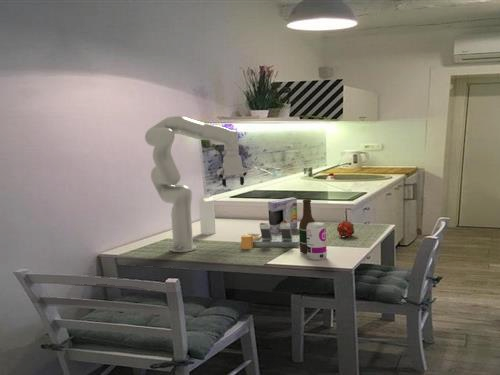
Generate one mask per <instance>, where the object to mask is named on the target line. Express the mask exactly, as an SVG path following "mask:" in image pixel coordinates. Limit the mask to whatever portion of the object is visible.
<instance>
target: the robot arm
mask: <svg viewBox="0 0 500 375" xmlns="http://www.w3.org/2000/svg"><path fill="white" fill-rule="evenodd" d="M238 133H239V132H238V130H236V129H229V128H226V127H224V126H220V125H215V124H210V123H205V122H201V121H199V120H195V119H191V118H189V117H186V116H182V115H175V116H169V117H165V118H164V119H163V120H161V121H159V122H157V123H156V124H155V125H153V126H151V127H150V128H149V129H147V131H146V132H145V136H144V139H145V142H146V143H147V145H149V146H151V147H153V151H152V160H153V161H154V162H153V163H154V165H155V166H154V167H153V168H152V170H151V172H150V179H151V181H152V184H153V186H154V188H155V189H156V192H157V193H158V195H159V197H160V199H161V201H163V202H164V203H167V204H172V208H171V213H170V214H171V215H170V217H171V229H172V230H171V232H172V244H173V245H171V247H170V248H169V249H170V252H172V253H173V252H174V253H187V252H191V251H195V250H196V249H197V245H196V244H194V240H193V239H194V238H193V236H194V235H193V225H192V224H193V220H192V219H193V218H192V200H193V192H192V190H191V188H190V187H188V186H187V185H184V184H179V182H180V181H181V173H180V171H179V169H178V166H177V165H176V162H175V160H174V158H173V155H172V147H173V143H174V141H175V135H177V134H178V135H182V136H185V137H189V138H192V139H195V140H201V141H206V140H207V141H210V143H212V144H213V145H215V146H216V145H217V146H221V145H223V146H224V148H223V149H224V150H223V151H222V152H221V154H222V155H223V159H222V167H221V168H219V169H217V170H216V173H217V175H218V177H219V178H220V179H221V184H222V186H223V187H225V188H226V187H227V179H226V177H227V176H237V175H239V176H240V177H239V184H240V186H244V184H245V177H246V175H247V174H248V171H249V169H248V168H247V167H245V166H243V161H242V156H241V155H240V150H239V149H240V148H239V134H238ZM221 172H222V174H221Z"/></svg>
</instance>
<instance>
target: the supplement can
mask: <svg viewBox="0 0 500 375" xmlns="http://www.w3.org/2000/svg"><path fill="white" fill-rule="evenodd" d="M326 227H327V226H326V225H325V223H324V222H321V221H315V222H311V223H308V225H307V227H306V229H307V254H306V256H307V257H308V259H309V260H313V261H321V260H325V259H326V258H327V255H328V254H327V228H326Z"/></svg>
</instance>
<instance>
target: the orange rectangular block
mask: <svg viewBox="0 0 500 375" xmlns="http://www.w3.org/2000/svg"><path fill="white" fill-rule="evenodd" d="M241 244H242V246H241V250H252V249H253V235H246V234H243V235H241V238H240V245H241Z"/></svg>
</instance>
